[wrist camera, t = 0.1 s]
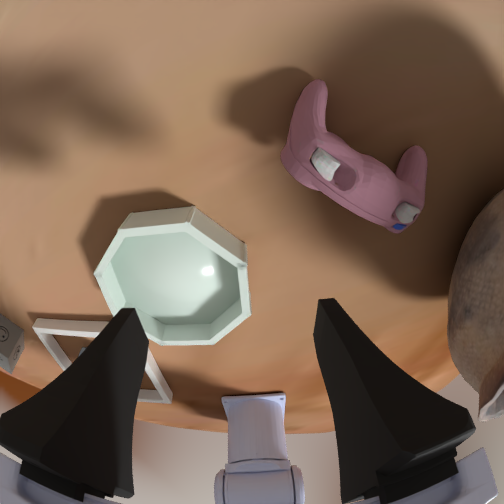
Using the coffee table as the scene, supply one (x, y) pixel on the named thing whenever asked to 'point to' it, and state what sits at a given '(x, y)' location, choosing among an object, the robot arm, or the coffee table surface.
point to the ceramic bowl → (480, 309)
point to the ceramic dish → (177, 276)
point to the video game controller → (352, 168)
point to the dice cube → (10, 343)
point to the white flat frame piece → (92, 329)
